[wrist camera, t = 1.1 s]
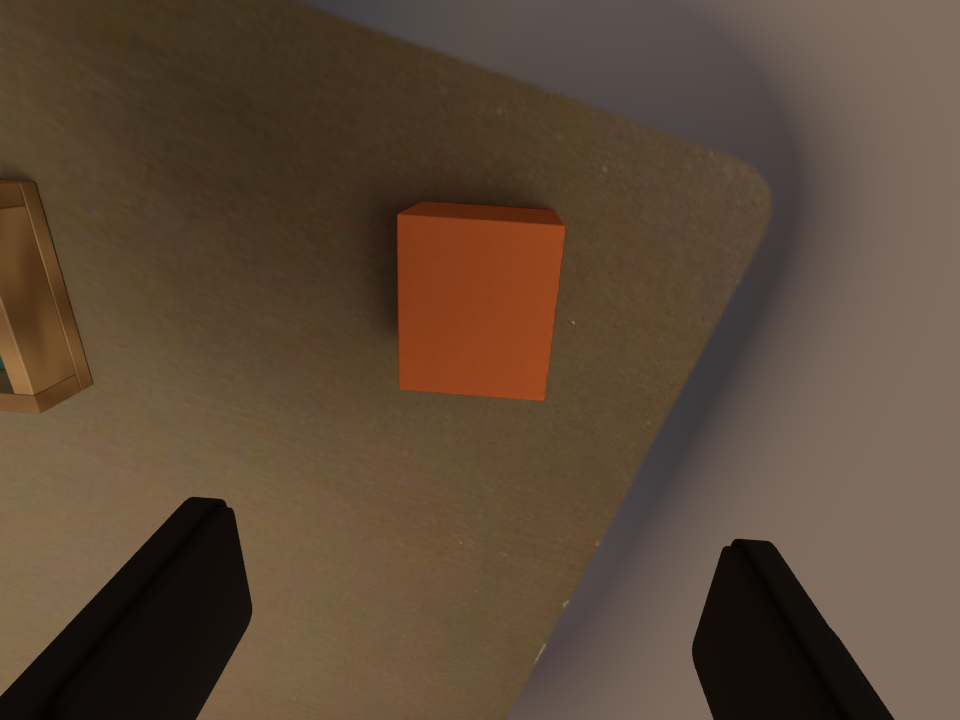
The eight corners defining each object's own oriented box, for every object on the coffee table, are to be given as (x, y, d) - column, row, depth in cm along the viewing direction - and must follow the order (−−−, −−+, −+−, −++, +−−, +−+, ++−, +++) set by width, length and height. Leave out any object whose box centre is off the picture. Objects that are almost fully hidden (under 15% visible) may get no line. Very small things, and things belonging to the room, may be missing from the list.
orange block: (420, 201, 22) (396, 213, 17) (554, 209, 22) (566, 225, 17) (419, 345, 25) (398, 390, 20) (538, 354, 24) (544, 401, 20)
